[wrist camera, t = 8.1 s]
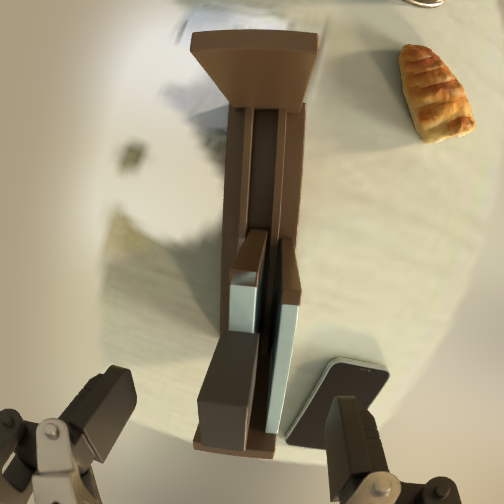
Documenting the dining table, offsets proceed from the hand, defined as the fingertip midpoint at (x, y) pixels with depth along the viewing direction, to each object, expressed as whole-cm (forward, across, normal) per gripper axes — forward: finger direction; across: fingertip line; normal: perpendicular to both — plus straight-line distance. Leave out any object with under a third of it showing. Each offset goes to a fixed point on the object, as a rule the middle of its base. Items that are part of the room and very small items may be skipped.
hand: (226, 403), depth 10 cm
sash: (+14, 0, +1) cm, 14 cm away
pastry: (+16, -14, -17) cm, 28 cm away
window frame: (+16, 0, -3) cm, 16 cm away
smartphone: (+16, -10, +17) cm, 25 cm away
